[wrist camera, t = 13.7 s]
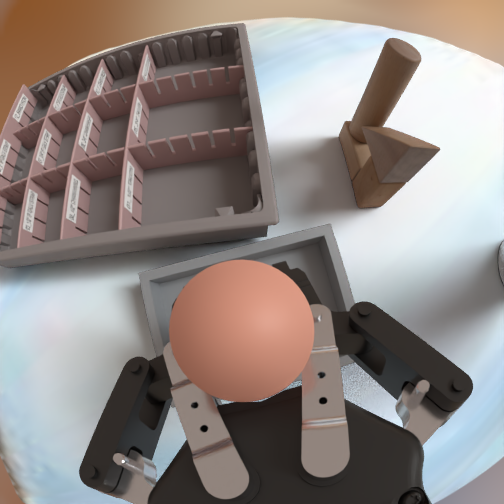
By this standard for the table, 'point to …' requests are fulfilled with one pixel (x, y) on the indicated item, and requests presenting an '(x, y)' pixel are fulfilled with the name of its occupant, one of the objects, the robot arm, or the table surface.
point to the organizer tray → (137, 152)
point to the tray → (267, 251)
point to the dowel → (241, 330)
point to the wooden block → (383, 131)
